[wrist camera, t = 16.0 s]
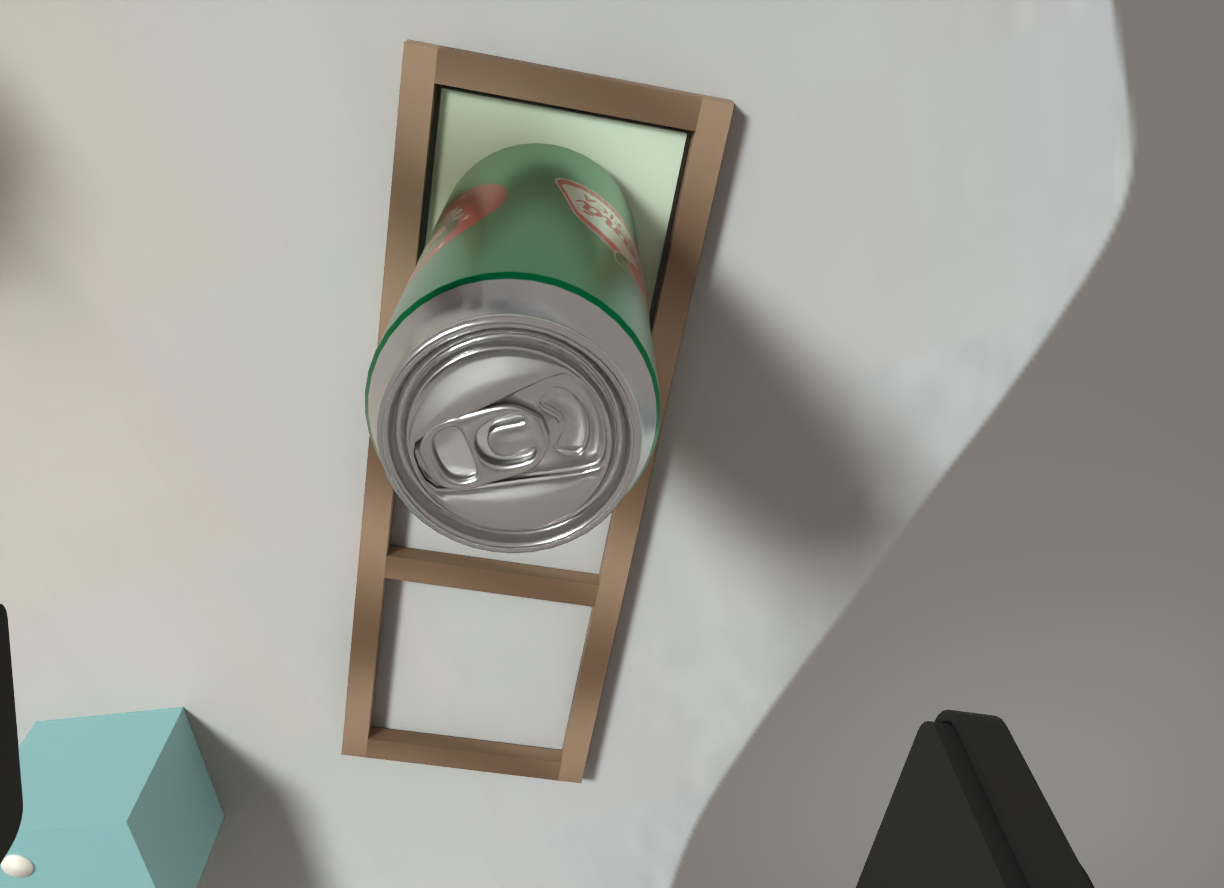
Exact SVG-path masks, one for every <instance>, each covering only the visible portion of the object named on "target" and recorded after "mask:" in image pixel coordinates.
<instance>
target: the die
mask: <svg viewBox="0 0 1224 888" xmlns="http://www.w3.org/2000/svg"><path fill="white" fill-rule="evenodd" d="M19 760H20V772H21V784H22V796H23V814H22V820H21V824H20V827H19V831H18V833H17V836H16V838H15V840H14V842H13V844H12V846H11V848H10V849H9V851H8V853H7V854H6V856H5V858H4V859H3V861H2V862H1V864H0V888H197V885H198V883H199V880H200V878H201V875H202V873H203V870H204V867H205V865H206V862H207V860H208V857H209V855H210V852H211V850H212V847H213V845H214V842H215V840H216V837H217V834H218V832H219V829H220V827H221V824H222V822H223V819H224V817H225V816H224V813H223V811H222V808H221V805H220V803H219V800H218V797H217V795H216V792H215V789H214V787H213V784H212V782H211V779H210V776H209V774H208V771H207V768H206V766H205V763H204V760H203V758H202V755H201V752H200V750H199V747H198V745H197V742H196V739H195V737H194V734H193V731H192V729H191V726H190V723H189V721H188V718H187V715H186V713H185V710H184V707H179V708H168V709H158V710H148V711H138V712H128V713H118V714H108V715H98V716H88V717H78V718H68V719H58V720H48V721H38V722H35V724H34V725H33V727H32V728H31V730H30V731H29V733H28V734H27V736H26V737H25V739H24V740H23V742H22V743H21V745H20V746H19Z"/></svg>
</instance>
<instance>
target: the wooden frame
mask: <svg viewBox="0 0 1224 888" xmlns="http://www.w3.org/2000/svg"><path fill="white" fill-rule="evenodd" d="M437 84H441V85H447V86H452V87H457V88H463V89H468V90H474V91H479V92H485V93H490V94H495V95H501V96H506V97H512V98H517V99H523V100H528V101H533V102H539V103H544V104H550V105H555V106H561V107H566V108H571V109H577V110H582V111H588V112H593V113H599V114H604V115H609V116H615V117H620V118H626V119H631V120H637V121H642V122H647V123H653V124H658V125H664V126H669V127H675V128H680V129H685V130H691V131H693V132H692V136H691V141H690V146H689V150H688V155H687V160H686V165H685V169H684V174H683V179H682V184H681V188H680V193H679V198H678V203H677V207H676V212H675V217H674V222H673V226H672V231H671V236H670V241H669V245H668V250H667V255H666V260H665V264H664V269H663V274H662V279H661V283H660V288H659V293H658V298H657V302H656V307H655V312H654V316H653V321H652V326H651V336H652V343H653V350H654V356H655V363H656V370H657V377H658V384H659V391H660V407H661V417H660V425H659V432H658V437H657V441H656V444H655V447H654V450H653V454H652V456H651V458H650V460H649V462H648V464H647V466H646V468H645V470H644V472H643V474H642V475H641V476H640V478H639V479H638V480H637V482H636V483H635V485H634V486H633V487H632V489H631V490H630V491H629V492H628V493H627V494H626V495H625V496H624V497H623V498H622V500H621V501H620V502H619V504H618V505H617V507H616V508H615V509H614V510H613V511H612V516H611V520H610V525H609V530H608V535H607V539H606V544H605V549H604V554H603V558H602V563H601V568H600V573H599V575H598V574H591V573H584V572H577V571H570V570H563V569H555V568H548V567H541V566H534V565H527V564H520V563H513V562H506V561H498V560H491V559H484V558H477V557H470V556H463V555H456V554H449V553H442V552H434V551H427V550H420V549H413V548H406V547H399V546H392V545H390V536H391V527H392V517H393V507H394V497H395V491H394V489H393V487H392V485H391V484H390V482H389V480H388V478H387V476H386V473H385V471H384V468H383V465H382V462H381V460H380V459H379V457H378V455H377V453H376V451H375V448H374V445H373V442H372V440H371V437H369V449H368V460H367V472H366V483H365V495H364V506H363V517H362V529H361V540H360V552H359V563H358V574H357V586H356V597H355V609H354V620H353V631H352V643H351V654H350V666H349V677H348V688H347V700H346V711H345V723H344V734H343V745H342V754H343V755H352V756H360V757H368V758H376V759H385V760H393V761H401V762H410V763H418V764H426V765H435V766H443V767H451V768H460V769H468V770H476V771H484V772H493V773H501V774H509V775H518V776H526V777H534V778H543V779H551V780H559V781H568V782H576V783H581V781H582V777H583V773H584V768H585V764H586V759H587V755H588V750H589V746H590V742H591V737H592V733H593V728H594V724H595V719H596V715H597V711H598V706H599V702H600V697H601V693H602V688H603V684H604V680H605V675H606V671H607V666H608V662H609V657H610V653H611V649H612V644H613V640H614V635H615V631H616V626H617V622H618V618H619V613H620V609H621V604H622V600H623V595H624V591H625V586H626V582H627V578H628V573H629V569H630V564H631V560H632V555H633V551H634V547H635V542H636V538H637V533H638V529H639V524H640V520H641V516H642V511H643V507H644V502H645V498H646V493H647V489H648V485H649V480H650V476H651V471H652V467H653V462H654V458H655V454H656V449H657V445H658V440H659V436H660V431H661V427H662V423H663V418H664V414H665V409H666V405H667V400H668V396H669V392H670V387H671V383H672V378H673V374H674V369H675V365H676V361H677V356H678V352H679V347H680V343H681V338H682V334H683V330H684V325H685V321H686V316H687V312H688V307H689V303H690V298H691V294H692V290H693V285H694V281H695V276H696V272H697V267H698V263H699V259H700V254H701V250H702V245H703V241H704V236H705V232H706V228H707V223H708V219H709V214H710V210H711V205H712V201H713V197H714V192H715V188H716V183H717V179H718V174H719V170H720V166H721V161H722V157H723V152H724V148H725V143H726V139H727V135H728V130H729V126H730V121H731V117H732V112H733V108H734V103H733V102H732V101H731V100H727V99H721V98H716V97H711V96H705V95H700V94H695V93H689V92H684V91H679V90H673V89H668V88H663V87H657V86H652V85H647V84H641V83H636V82H631V81H625V80H620V79H615V78H609V77H604V76H599V75H593V74H588V73H583V72H578V71H572V70H567V69H562V68H556V67H551V66H546V65H540V64H535V63H530V62H524V61H519V60H514V59H508V58H503V57H498V56H492V55H487V54H482V53H476V52H471V51H466V50H460V49H455V48H450V47H444V46H439V45H434V44H428V43H423V42H418V41H413V40H407V41H405V42H404V50H403V61H402V73H401V84H400V95H399V107H398V118H397V130H396V141H395V152H394V164H393V175H392V187H391V198H390V209H389V221H388V232H387V244H386V255H385V266H384V278H383V289H382V301H381V312H380V323H379V335H378V345H379V342H380V340H381V338H382V336H383V334H384V332H385V330H386V328H387V326H388V324H389V322H390V319H391V317H392V315H393V313H394V311H395V309H396V307H397V305H398V303H399V301H400V298H401V296H402V294H403V292H404V290H405V288H406V286H407V284H408V282H409V280H410V278H411V275H412V273H413V271H414V269H415V267H416V265H417V263H418V261H419V253H420V244H421V234H422V224H423V214H424V205H425V195H426V185H427V175H428V166H429V156H430V146H431V136H432V127H433V117H434V107H435V97H436V88H437ZM686 136H687V132H685V131H680V130H674V129H669V128H663V127H658V126H652V125H647V124H641V123H636V122H631V121H625V120H620V119H614V118H609V117H603V116H598V115H593V114H587V113H582V112H576V111H571V110H565V109H560V108H555V107H549V106H544V105H538V104H533V103H527V102H522V101H517V100H511V99H506V98H500V97H495V96H489V95H484V94H478V93H473V92H468V91H462V90H457V89H451V88H446V87H442V90H441V100H440V109H439V119H438V129H437V138H436V148H435V157H434V167H433V176H432V186H431V195H430V205H429V215H428V224H427V234H426V243H425V246H426V244H427V242H428V240H429V238H430V236H431V234H432V231H433V229H434V227H435V225H436V223H437V221H438V219H439V217H440V215H441V213H442V210H443V208H444V206H445V204H446V202H447V200H448V198H449V196H450V194H451V193H452V191H453V189H454V187H455V185H456V184H457V183H458V181H459V180H460V179H461V178H462V177H463V175H464V174H465V173H466V172H467V171H468V170H469V169H470V168H471V167H473V166H474V165H475V164H476V163H477V162H478V161H480V160H482V159H483V158H485V157H487V156H488V155H490V154H492V153H494V152H496V151H499V150H501V149H504V148H507V147H511V146H515V145H519V144H530V143H542V144H553V145H557V146H561V147H565V148H569V149H571V150H573V151H576V152H578V153H580V154H583V155H584V156H586V157H588V158H589V159H591V160H592V161H594V162H595V163H597V164H598V165H599V166H600V167H602V168H603V169H604V170H605V171H606V172H607V173H608V174H609V175H610V176H611V177H612V178H613V180H614V181H615V182H616V183H617V184H618V186H619V187H620V189H621V190H622V192H623V194H624V195H625V197H626V199H627V201H628V204H629V206H630V209H631V211H632V214H633V218H634V223H635V227H636V234H637V240H638V247H639V254H640V261H641V268H642V275H643V281H644V288H645V295H646V302H647V309H648V316H649V313H650V309H651V304H652V299H653V294H654V290H655V285H656V280H657V275H658V270H659V266H660V261H661V256H662V251H663V246H664V242H665V237H666V232H667V227H668V222H669V218H670V213H671V208H672V203H673V199H674V194H675V189H676V184H677V179H678V175H679V170H680V165H681V160H682V155H683V151H684V146H685V141H686ZM377 347H378V346H377ZM386 578H389V579H396V580H403V581H411V582H418V583H425V584H432V585H440V586H447V587H454V588H462V589H469V590H476V591H483V592H491V593H498V594H505V595H513V596H520V597H527V598H534V599H542V600H549V601H556V602H563V603H571V604H578V605H585V606H592V611H591V615H590V620H589V625H588V629H587V634H586V639H585V644H584V648H583V653H582V658H581V663H580V667H579V672H578V677H577V682H576V686H575V691H574V696H573V701H572V705H571V710H570V715H569V720H568V724H567V729H566V734H565V739H564V743H563V748H562V750H556V749H548V748H540V747H532V746H524V745H516V744H508V743H500V742H491V741H483V740H475V739H467V738H459V737H451V736H443V735H435V734H427V733H418V732H410V731H402V730H394V729H386V728H378V727H371V722H372V712H373V702H374V692H375V683H376V673H377V663H378V653H379V644H380V634H381V624H382V614H383V605H384V595H385V585H386Z"/></svg>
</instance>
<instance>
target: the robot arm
mask: <svg viewBox="0 0 1224 888" xmlns="http://www.w3.org/2000/svg"><path fill="white" fill-rule="evenodd" d="M22 814H23V796H22V784H21V772H20V760H19V748H18V736H17V724H16V712H15V701H14V689H13V677H12V665H11V653H10V641H9V629H8V618H7V612H6V609H5V607H4V606H3V605H2V604H0V864H1V862H2V861H3V859H4V858H5V856H6V854H7V853H8V851H9V849H10V848H11V846H12V844H13V842H14V840H15V838H16V836H17V833H18V831H19V827H20V824H21V820H22ZM856 888H1094V886H1093V884H1092V882H1091V880H1090V879H1089V877H1088V875H1087V873H1086V872H1085V870H1084V869H1083V867H1082V866H1081V864H1080V863H1079V862H1078V860H1077V858H1076V856H1075V854H1074V852H1073V850H1072V848H1071V846H1070V845H1069V843H1068V841H1067V839H1066V837H1065V835H1064V833H1063V831H1062V829H1061V828H1060V826H1059V824H1058V822H1057V820H1056V818H1055V816H1054V814H1053V812H1052V811H1051V809H1050V807H1049V805H1048V803H1047V801H1046V799H1045V798H1044V796H1043V794H1042V792H1041V790H1040V788H1039V786H1038V784H1037V782H1036V780H1035V779H1034V777H1033V775H1032V773H1031V771H1030V769H1029V767H1028V765H1027V763H1026V762H1025V760H1024V758H1023V756H1022V754H1021V752H1020V750H1019V748H1018V746H1017V745H1016V743H1015V741H1014V739H1013V737H1012V735H1011V734H1010V731H1009V730H1008V728H1007V726H1006V725H1005V723H1004V722H1003V721H1002V719H1000V718H999V717H997V716H992V715H985V714H977V713H969V712H961V711H953V710H945V711H942V712H941V713H940V714H939V715H938V716H937V718H936V720H935V722H931V721H927V722H924V723H923V724H922V725H921V726H920V728H919V730H918V732H917V735H916V737H915V740H914V742H913V745H912V747H911V750H910V752H909V755H908V757H907V760H906V762H905V765H904V767H903V770H902V772H901V775H900V777H899V780H898V783H897V785H896V788H895V790H894V793H893V795H892V798H891V800H890V803H889V805H888V808H887V810H886V813H885V815H884V818H883V821H882V823H881V825H880V828H879V830H878V833H877V836H876V838H875V841H874V843H873V846H872V848H871V851H870V853H869V856H868V858H867V861H866V863H865V866H864V869H863V871H862V874H861V876H860V878H859V881H858V884H857V886H856Z"/></svg>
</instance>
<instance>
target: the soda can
mask: <svg viewBox="0 0 1224 888" xmlns="http://www.w3.org/2000/svg"><path fill="white" fill-rule="evenodd" d="M365 414H366V419H367V424H368V430H369V434H370V437H371V440H372V442H373V445H374V448H375V451H376V453H377V455H378V457H379V459H380V460H381V462H382V465H383V468H384V471H385V473H386V476H387V478H388V480H389V482H390V484H391V485H392V487H393V489H394V491H395V492H396V494H397V495H398V496H399V498H400V499H401V500H402V502H403V503H404V504H405V505H406V507H407V508H408V509H409V510H410V511H411V512H412V513H413V514H414V515H416V516H417V517H418V518H419V519H420V520H421V521H422V522H423V523H425V524H426V525H428V526H429V527H431V528H432V529H434V530H435V531H436V532H438V533H440V534H442V535H444V536H446V537H448V538H450V539H452V540H454V541H456V542H459V543H461V544H464V545H467V546H470V547H473V548H477V549H482V550H487V551H492V552H504V553H523V552H534V551H539V550H544V549H549V548H553V547H556V546H559V545H562V544H565V543H567V542H570V541H572V540H574V539H576V538H578V537H580V536H582V535H584V534H586V533H587V532H589V531H590V530H591V529H593V528H594V527H595V526H597V525H598V524H600V523H601V522H602V521H603V520H604V519H605V518H606V517H607V516H608V515H609V514H610V513H611V512H612V511H613V510H614V509H615V508H616V507H617V505H618V504H619V502H620V501H621V500H622V498H623V497H624V496H625V495H626V494H627V493H628V492H629V491H630V490H631V489H632V487H633V486H634V485H635V483H636V482H637V480H638V479H639V478H640V476H641V475H642V474H643V472H644V470H645V468H646V466H647V464H648V462H649V460H650V458H651V456H652V454H653V450H654V447H655V444H656V441H657V437H658V432H659V425H660V417H661V407H660V391H659V384H658V377H657V370H656V363H655V356H654V350H653V343H652V336H651V329H650V322H649V316H648V309H647V302H646V295H645V288H644V281H643V275H642V268H641V261H640V254H639V247H638V240H637V234H636V227H635V223H634V218H633V214H632V211H631V209H630V206H629V204H628V201H627V199H626V197H625V195H624V194H623V192H622V190H621V189H620V187H619V186H618V184H617V183H616V182H615V181H614V180H613V178H612V177H611V176H610V175H609V174H608V173H607V172H606V171H605V170H604V169H603V168H602V167H600V166H599V165H598V164H597V163H595V162H594V161H592V160H591V159H589V158H588V157H586V156H584V155H583V154H580V153H578V152H576V151H573V150H571V149H569V148H565V147H561V146H557V145H553V144H542V143H530V144H519V145H515V146H511V147H507V148H504V149H501V150H499V151H496V152H494V153H492V154H490V155H488V156H487V157H485V158H483V159H482V160H480V161H478V162H477V163H476V164H475V165H474V166H473V167H471V168H470V169H469V170H468V171H467V172H466V173H465V174H464V175H463V177H462V178H461V179H460V180H459V181H458V183H457V184H456V185H455V187H454V189H453V191H452V193H451V194H450V196H449V198H448V200H447V202H446V204H445V206H444V208H443V210H442V213H441V215H440V217H439V219H438V221H437V223H436V225H435V227H434V229H433V231H432V234H431V236H430V238H429V240H428V242H427V244H426V246H425V248H424V250H423V252H422V254H421V257H420V259H419V261H418V263H417V265H416V267H415V269H414V271H413V273H412V275H411V278H410V280H409V282H408V284H407V286H406V288H405V290H404V292H403V294H402V296H401V298H400V301H399V303H398V305H397V307H396V309H395V311H394V313H393V315H392V317H391V319H390V322H389V324H388V326H387V328H386V330H385V332H384V334H383V336H382V338H381V340H380V342H379V345H378V347H377V349H376V351H375V354H374V357H373V360H372V362H371V365H370V368H369V371H368V377H367V383H366V389H365Z"/></svg>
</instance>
